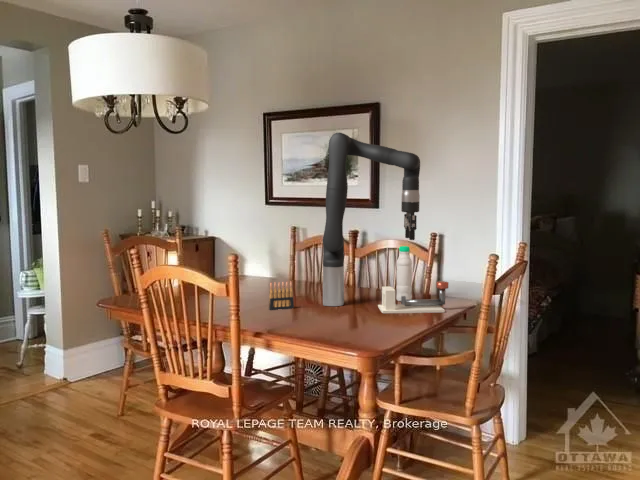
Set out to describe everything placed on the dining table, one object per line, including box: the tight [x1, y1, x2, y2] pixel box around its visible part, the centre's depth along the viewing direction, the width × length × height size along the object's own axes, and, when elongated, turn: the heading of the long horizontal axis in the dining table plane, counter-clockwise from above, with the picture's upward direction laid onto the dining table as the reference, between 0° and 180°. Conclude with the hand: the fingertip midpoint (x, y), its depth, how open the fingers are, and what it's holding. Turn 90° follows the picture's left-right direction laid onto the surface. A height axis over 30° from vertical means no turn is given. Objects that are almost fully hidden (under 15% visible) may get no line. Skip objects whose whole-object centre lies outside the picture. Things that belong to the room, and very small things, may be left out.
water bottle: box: [395, 245, 413, 302], centre depth 262 cm, size 7×7×25 cm
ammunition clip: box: [268, 280, 295, 311], centre depth 245 cm, size 11×2×12 cm, turn 109°
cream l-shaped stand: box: [377, 286, 446, 314], centre depth 243 cm, size 26×13×9 cm, turn 93°
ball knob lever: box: [400, 280, 449, 307], centre depth 243 cm, size 20×5×10 cm, turn 93°
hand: (409, 239), depth 243 cm, fingers open, 8 cm apart
